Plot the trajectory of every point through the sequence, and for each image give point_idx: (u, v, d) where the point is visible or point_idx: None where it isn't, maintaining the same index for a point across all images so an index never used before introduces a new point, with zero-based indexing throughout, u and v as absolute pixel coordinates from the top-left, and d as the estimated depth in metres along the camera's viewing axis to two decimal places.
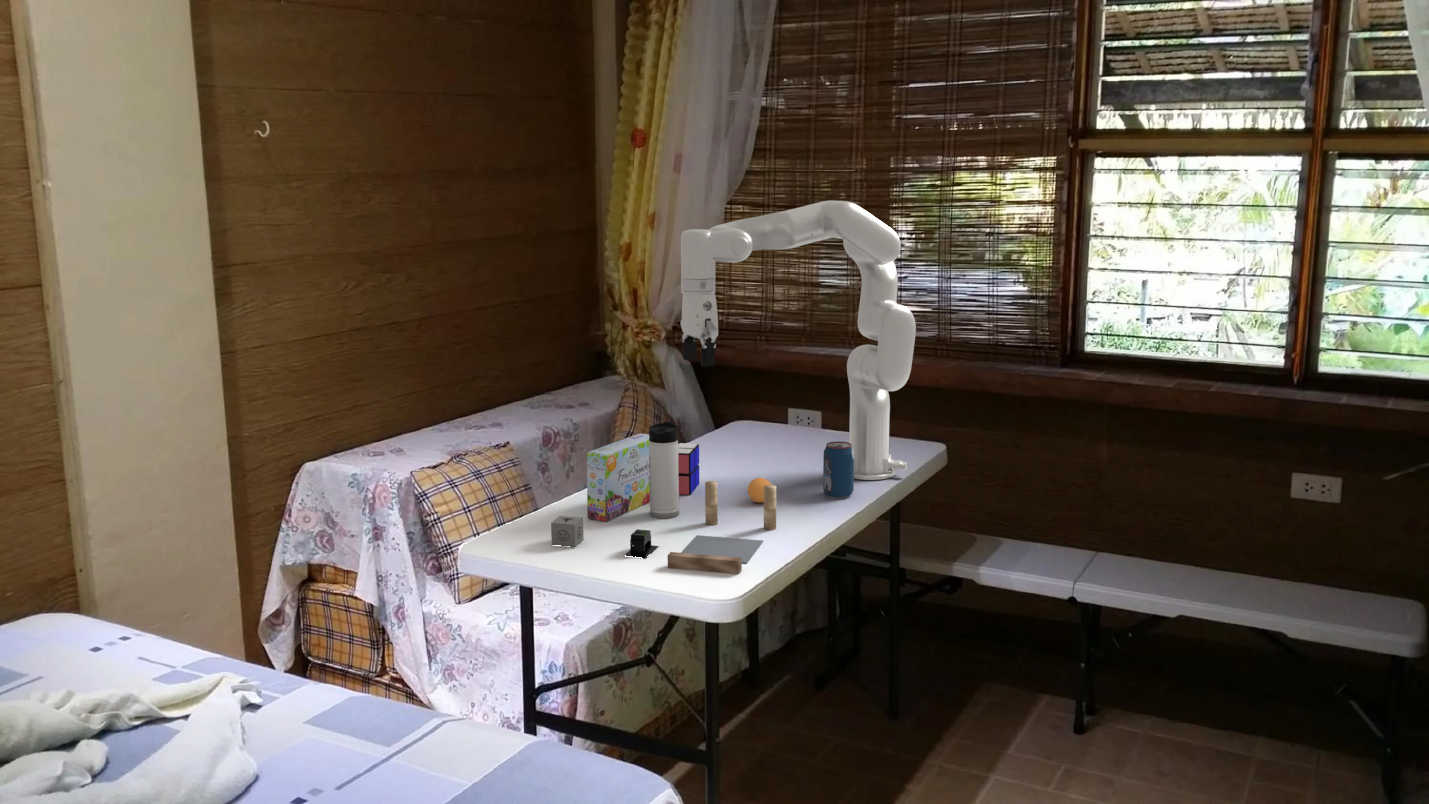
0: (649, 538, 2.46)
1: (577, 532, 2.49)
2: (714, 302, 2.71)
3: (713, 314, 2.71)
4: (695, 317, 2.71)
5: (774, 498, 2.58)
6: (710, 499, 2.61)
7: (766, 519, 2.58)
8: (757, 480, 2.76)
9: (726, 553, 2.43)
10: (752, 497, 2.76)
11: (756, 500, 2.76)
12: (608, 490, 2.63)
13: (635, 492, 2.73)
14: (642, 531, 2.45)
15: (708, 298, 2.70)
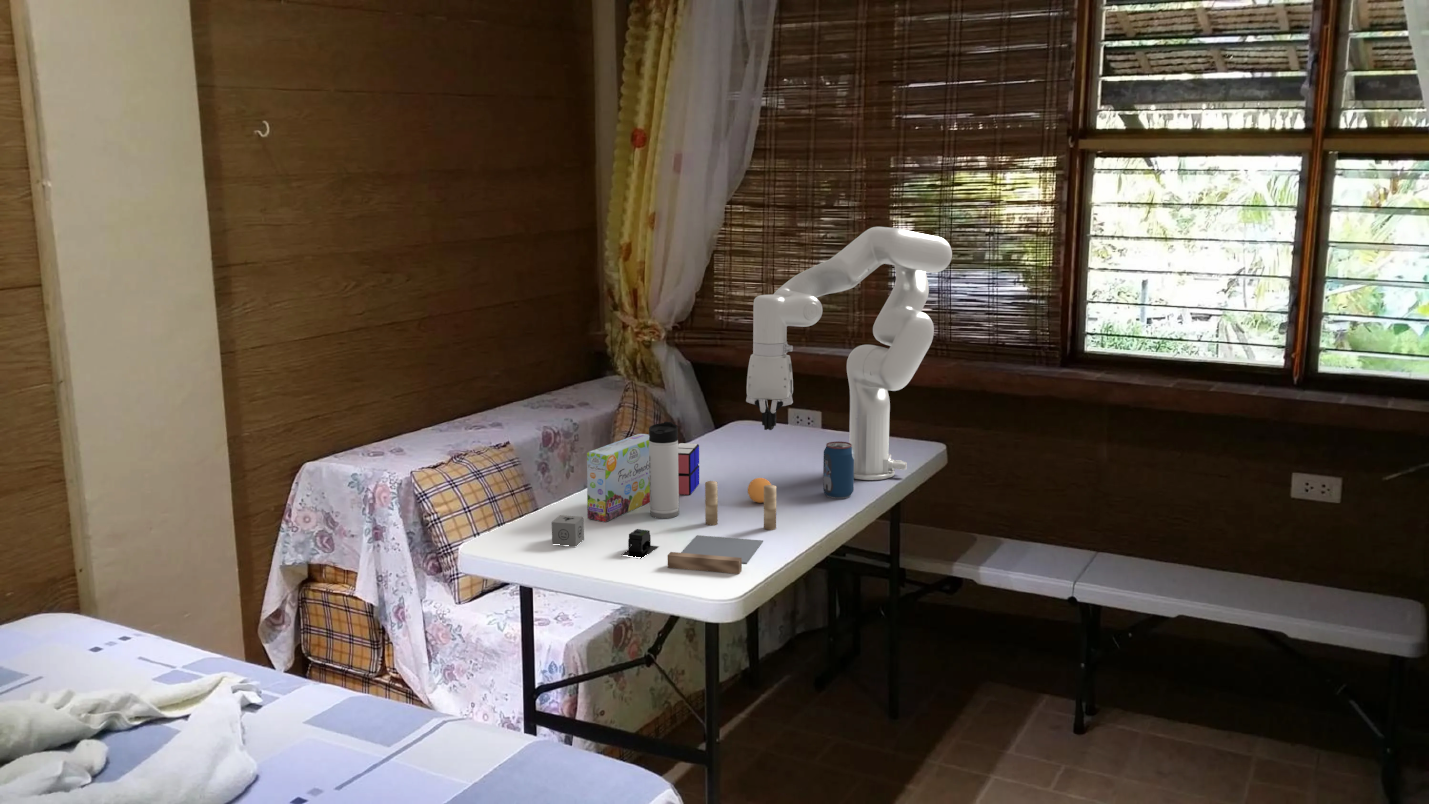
0: (648, 538, 2.46)
1: (577, 531, 2.49)
2: None
3: None
4: (782, 379, 2.79)
5: (774, 498, 2.58)
6: (710, 499, 2.61)
7: (766, 519, 2.58)
8: (757, 480, 2.76)
9: (726, 553, 2.43)
10: (752, 497, 2.76)
11: (756, 500, 2.76)
12: (608, 490, 2.63)
13: (635, 492, 2.73)
14: (641, 531, 2.45)
15: (789, 360, 2.80)
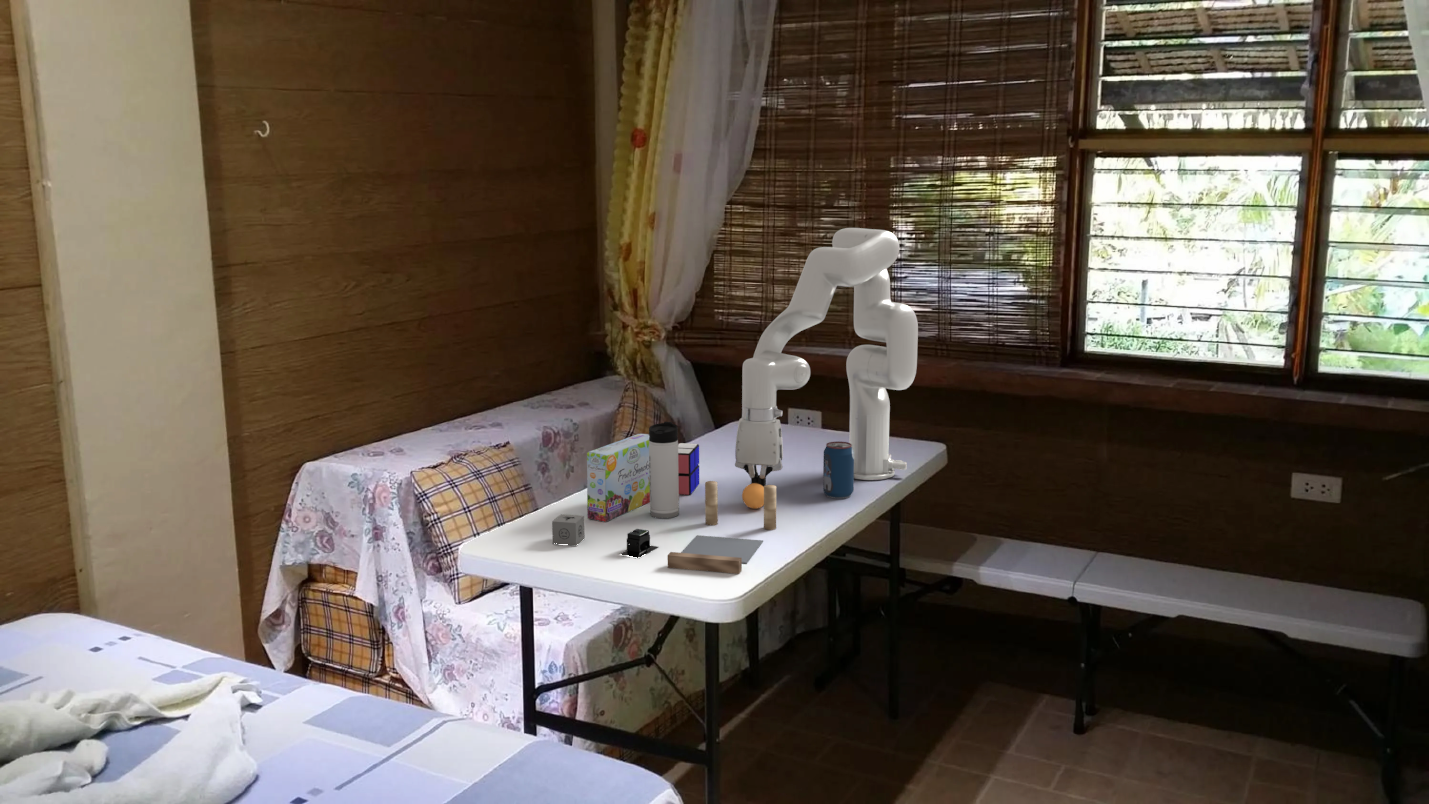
0: (647, 538, 2.46)
1: (578, 530, 2.50)
2: None
3: None
4: (771, 445, 2.72)
5: (774, 498, 2.58)
6: (710, 499, 2.61)
7: (766, 519, 2.58)
8: (750, 501, 2.71)
9: (726, 553, 2.43)
10: None
11: None
12: (608, 490, 2.63)
13: (635, 492, 2.73)
14: (640, 531, 2.46)
15: (779, 425, 2.74)
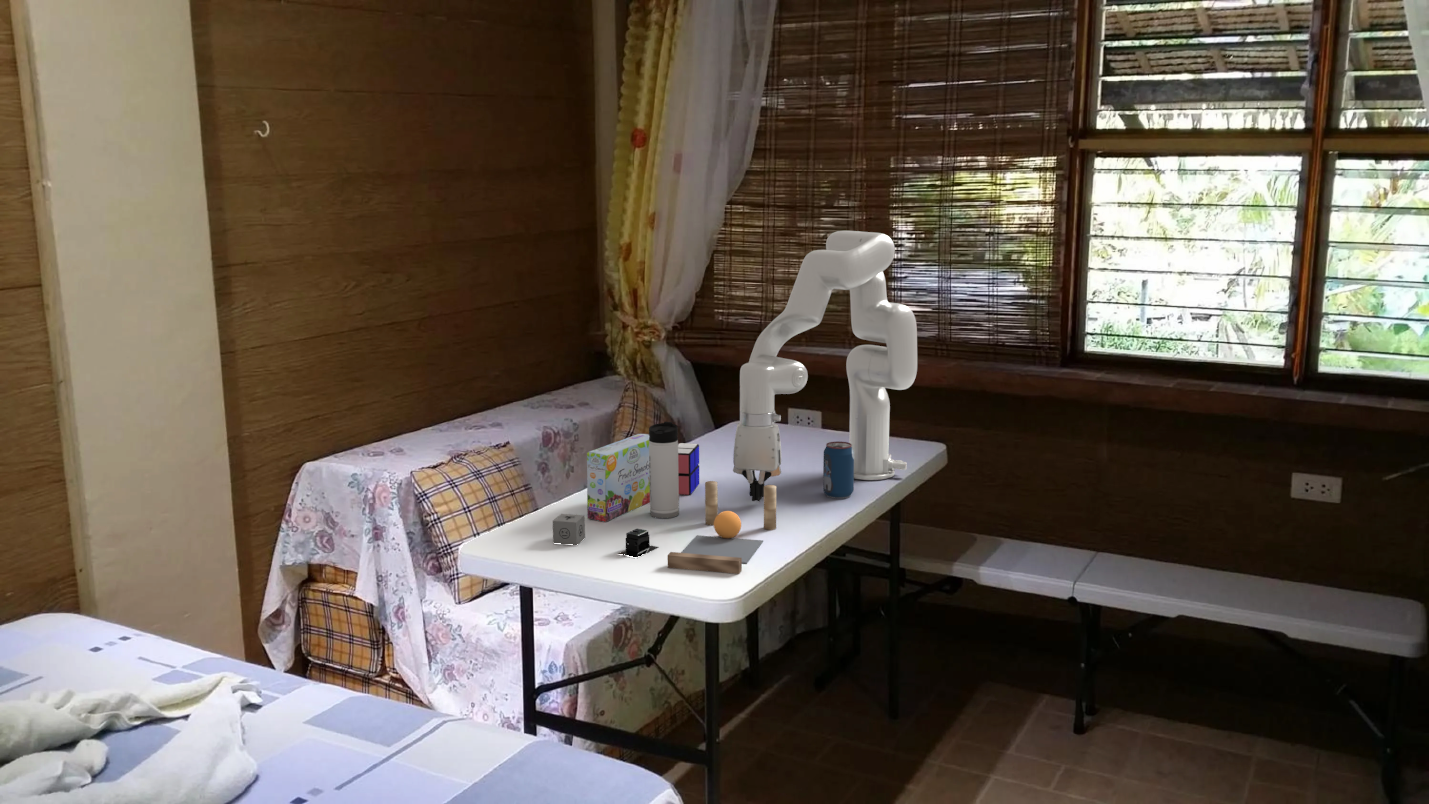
0: (646, 538, 2.46)
1: (578, 530, 2.50)
2: None
3: (780, 444, 2.73)
4: (770, 450, 2.70)
5: (774, 498, 2.58)
6: (710, 499, 2.61)
7: (766, 519, 2.58)
8: None
9: (726, 553, 2.43)
10: None
11: None
12: (608, 490, 2.63)
13: (635, 492, 2.73)
14: (640, 531, 2.46)
15: (777, 430, 2.71)
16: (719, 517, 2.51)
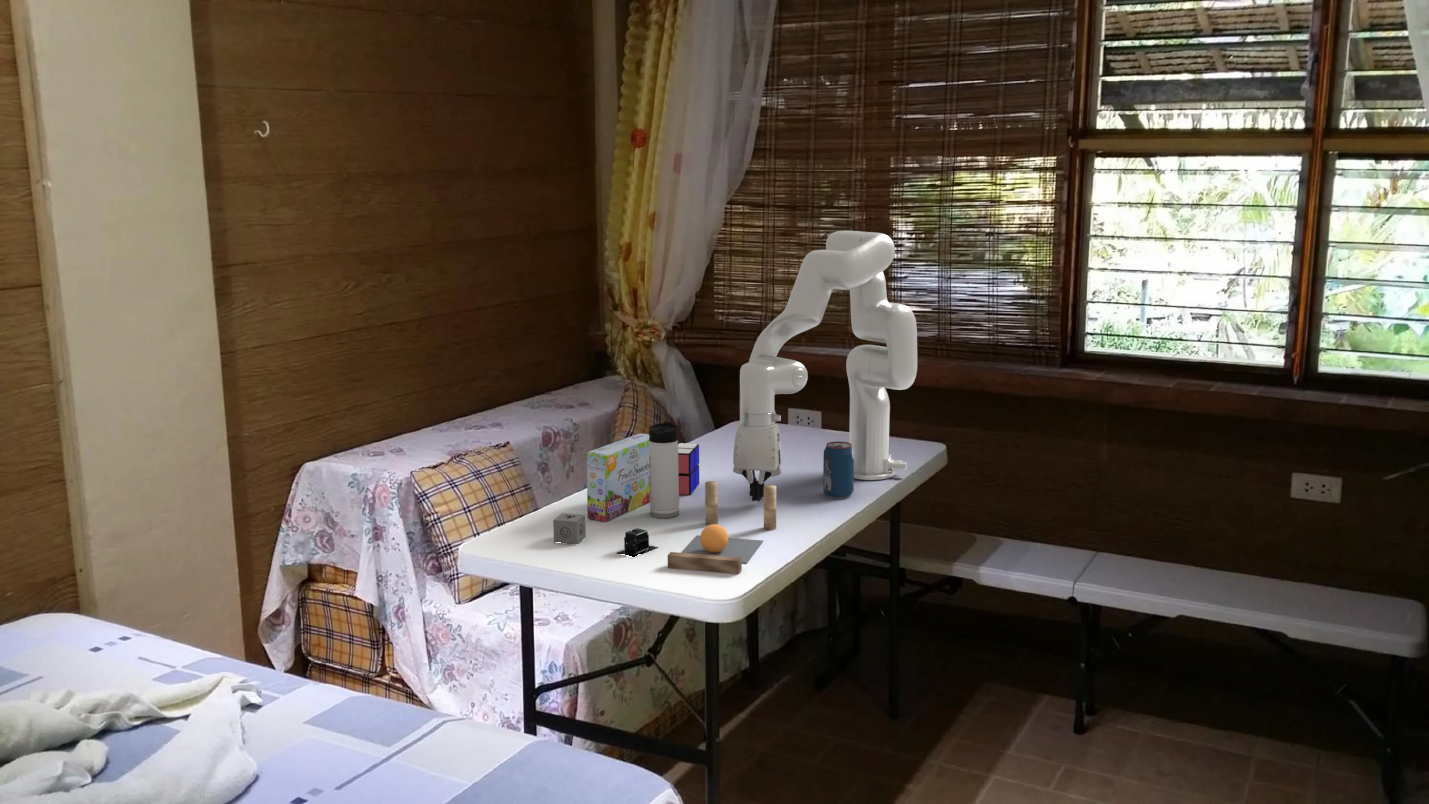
0: (645, 538, 2.46)
1: (579, 529, 2.51)
2: None
3: (780, 444, 2.73)
4: (770, 450, 2.70)
5: (774, 498, 2.58)
6: (710, 499, 2.61)
7: (766, 519, 2.58)
8: (711, 527, 2.43)
9: (726, 553, 2.43)
10: (705, 546, 2.43)
11: (709, 550, 2.43)
12: (608, 490, 2.63)
13: (635, 492, 2.73)
14: (639, 530, 2.46)
15: (777, 430, 2.71)
16: None
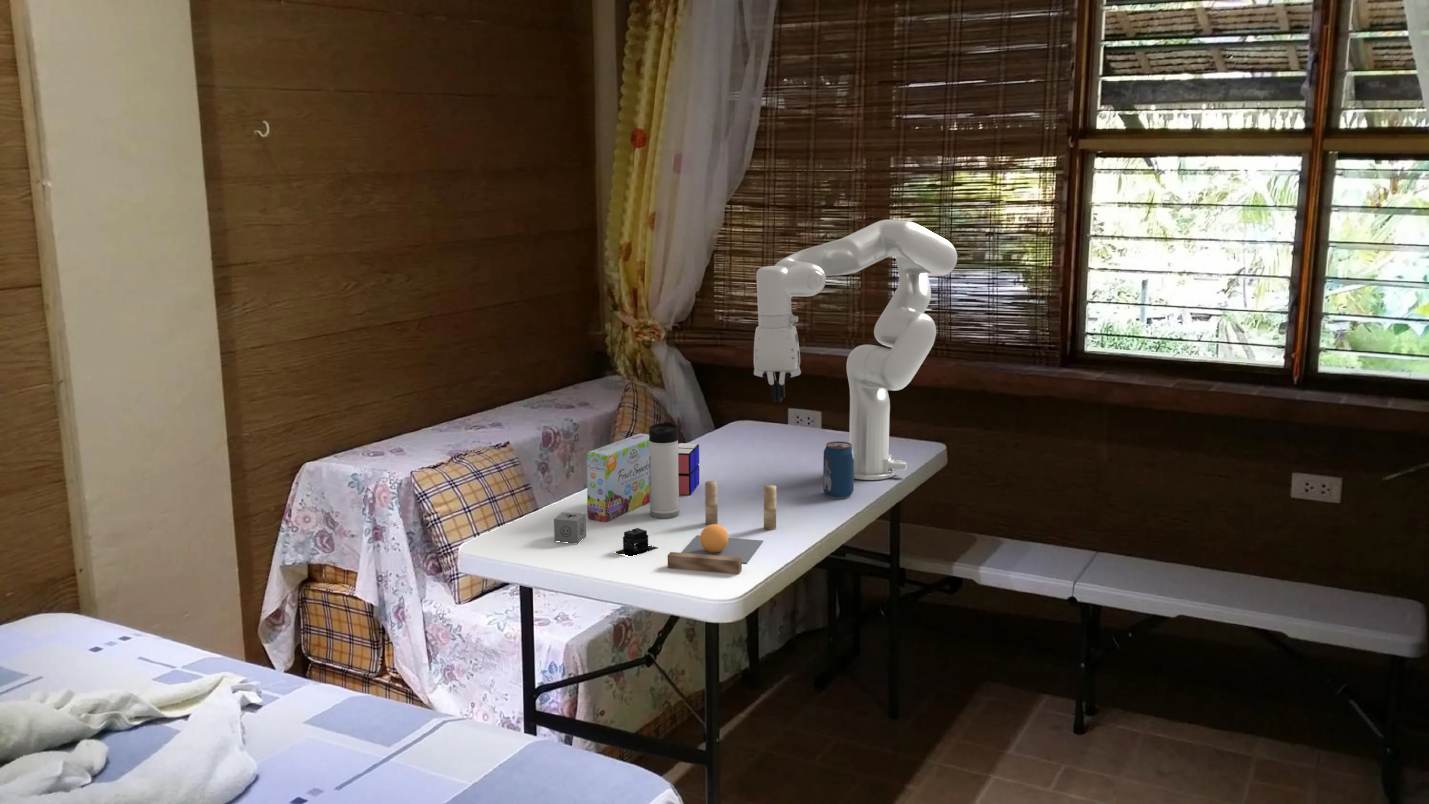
0: (644, 538, 2.46)
1: (580, 528, 2.51)
2: None
3: (798, 345, 2.80)
4: (789, 351, 2.77)
5: (774, 498, 2.58)
6: (710, 499, 2.61)
7: (766, 519, 2.58)
8: (711, 527, 2.43)
9: (726, 553, 2.43)
10: (705, 546, 2.43)
11: (709, 550, 2.43)
12: (608, 490, 2.63)
13: (635, 492, 2.73)
14: (638, 530, 2.46)
15: (795, 331, 2.78)
16: None
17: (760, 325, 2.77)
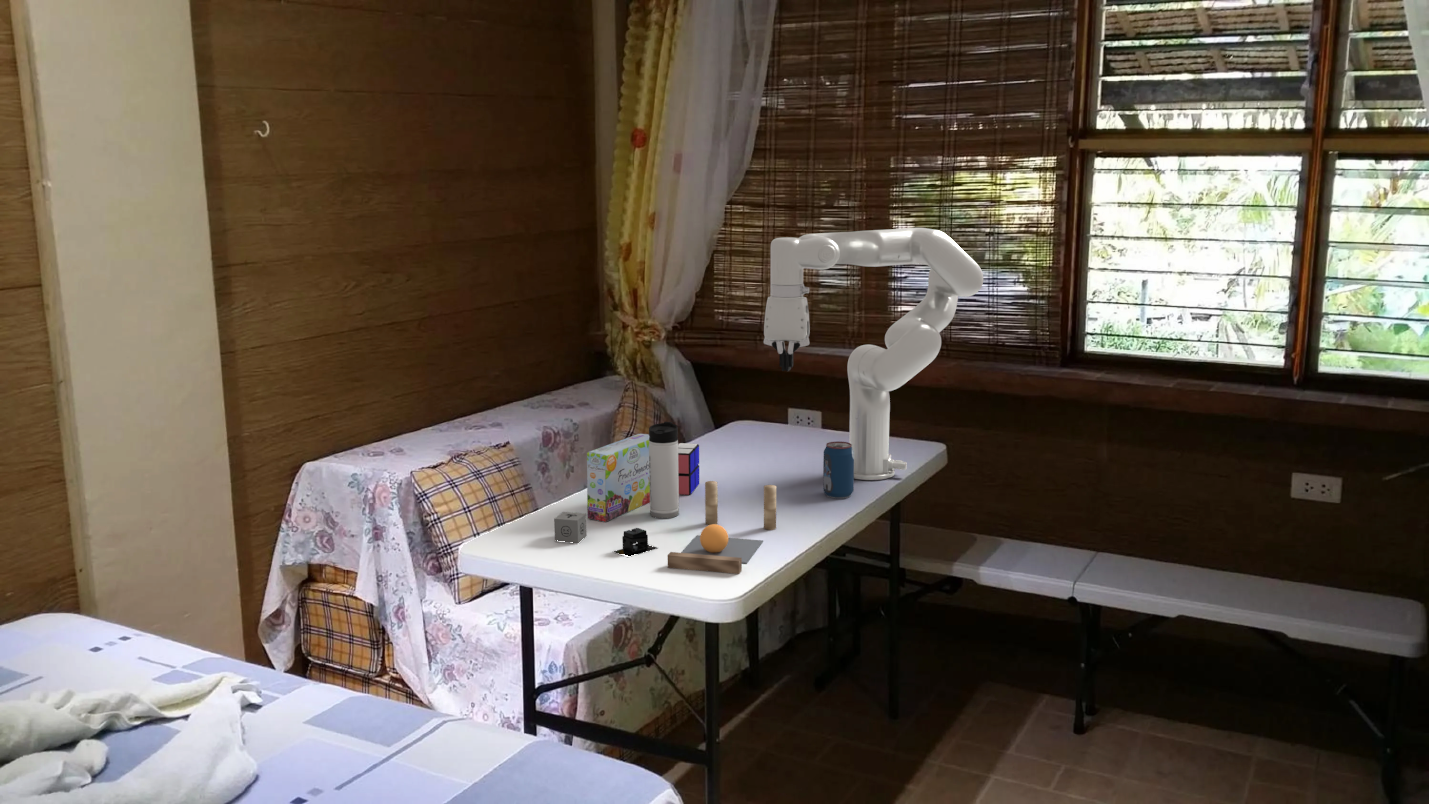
0: (644, 538, 2.46)
1: (580, 528, 2.51)
2: (807, 305, 2.87)
3: (808, 316, 2.87)
4: (799, 320, 2.84)
5: (774, 498, 2.58)
6: (710, 499, 2.61)
7: (766, 519, 2.58)
8: (711, 527, 2.43)
9: (726, 553, 2.43)
10: (705, 546, 2.43)
11: (709, 550, 2.43)
12: (608, 490, 2.63)
13: (635, 492, 2.73)
14: (638, 530, 2.46)
15: (806, 302, 2.85)
16: None
17: (772, 294, 2.84)
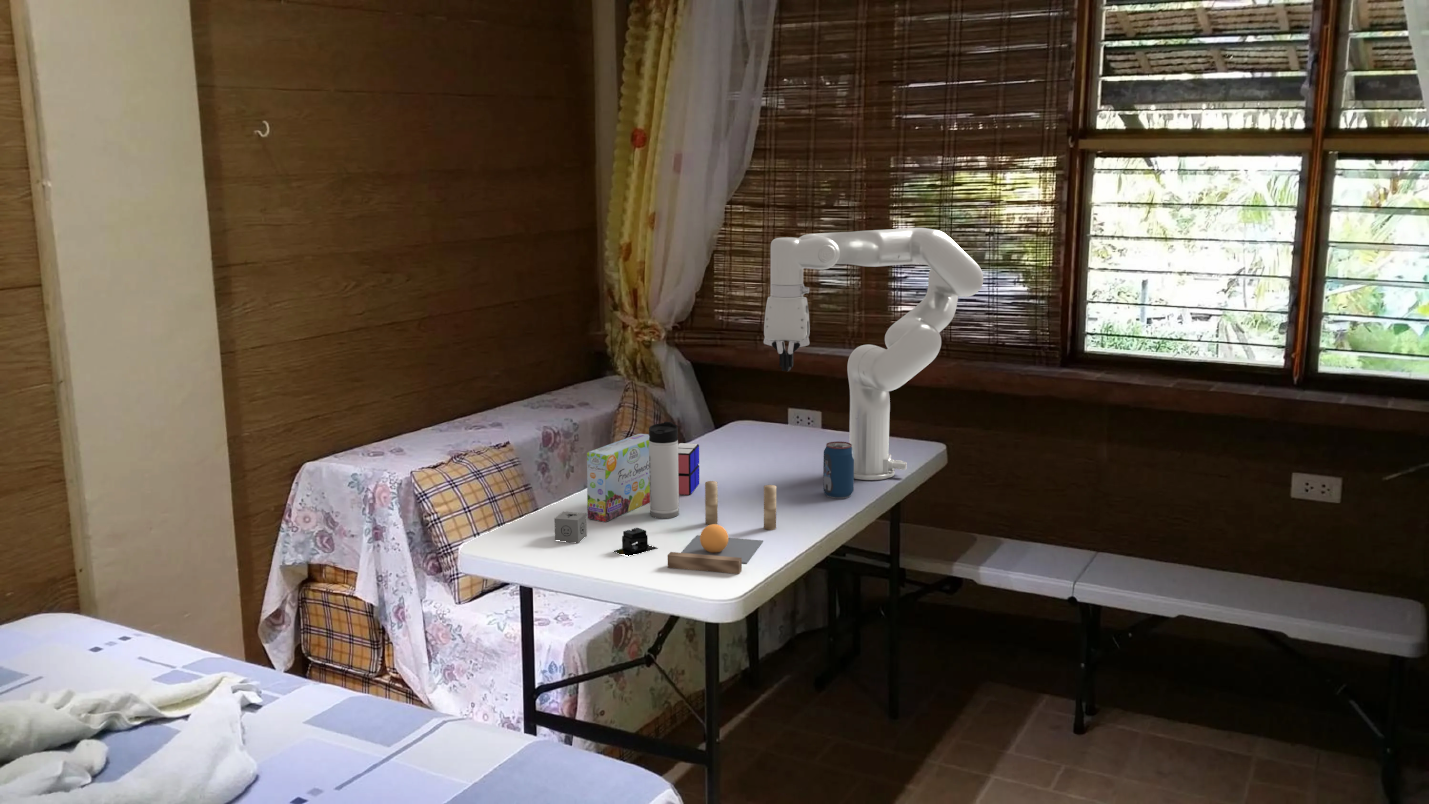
0: (643, 538, 2.46)
1: (580, 528, 2.52)
2: (807, 305, 2.87)
3: (808, 316, 2.87)
4: (799, 320, 2.84)
5: (774, 498, 2.58)
6: (710, 499, 2.61)
7: (766, 519, 2.58)
8: (711, 527, 2.43)
9: (726, 553, 2.43)
10: (705, 546, 2.43)
11: (709, 550, 2.43)
12: (608, 490, 2.63)
13: (635, 492, 2.73)
14: (638, 530, 2.46)
15: (806, 302, 2.85)
16: None
17: (772, 294, 2.84)
